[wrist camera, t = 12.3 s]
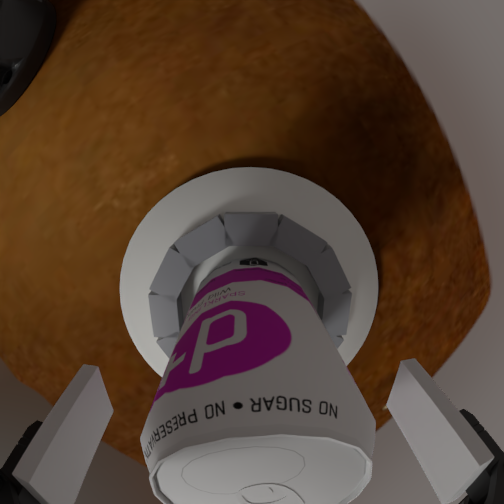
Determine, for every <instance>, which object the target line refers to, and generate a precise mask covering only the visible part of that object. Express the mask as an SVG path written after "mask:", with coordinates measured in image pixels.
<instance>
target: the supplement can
mask: <svg viewBox="0 0 504 504" xmlns="http://www.w3.org/2000/svg"><path fill="white" fill-rule="evenodd" d="M375 426H376V421H375V419H374V417H373V415H372V413H371V412H370V410H369V408H368V406H367V404H366V402H365V400H364V398H363V396H362V394H361V393H360V391H359V389H358V387H357V385H356V383H355V381H354V379H353V378H352V376H351V374H350V372H349V370H348V368H347V366H346V365H345V363H344V361H343V359H342V357H341V355H340V353H339V352H338V350H337V348H336V346H335V344H334V342H333V341H332V339H331V337H330V335H329V333H328V332H327V330H326V328H325V326H324V324H323V323H322V321H321V319H320V317H319V315H318V314H317V312H316V310H315V308H314V306H313V305H312V303H311V301H310V299H309V298H308V296H307V294H306V292H305V291H304V289H303V288H302V286H301V284H300V283H299V281H298V280H297V278H296V277H295V275H294V274H292V273H291V272H290V271H288V270H287V269H285V268H284V267H283V266H281V265H280V264H278V263H276V262H272V261H269V260H265V259H261V258H257V257H254V258H241V259H234V260H231V261H229V262H227V263H225V264H222V265H220V266H218V267H216V268H215V269H214V270H213V271H212V272H211V273H209V274H208V275H207V276H206V277H205V278H204V279H203V280H202V281H201V283H200V285H199V287H198V290H197V292H196V294H195V296H194V299H193V301H192V304H191V306H190V308H189V311H188V313H187V316H186V318H185V321H184V323H183V326H182V328H181V331H180V333H179V336H178V338H177V341H176V343H175V346H174V348H173V351H172V354H171V356H170V359H169V361H168V364H167V367H166V369H165V372H164V374H163V377H162V380H161V382H160V385H159V388H158V390H157V393H156V396H155V398H154V401H153V404H152V407H151V409H150V412H149V415H148V418H147V420H146V423H145V426H144V429H143V432H142V434H141V437H140V441H141V445H142V449H143V453H144V457H145V461H146V464H147V466H148V469H149V472H150V475H149V480H150V483H151V487H152V490H153V493H154V495H155V496H156V497H157V498H158V499H159V500H160V501H161V502H162V503H163V504H348V503H349V502H350V501H352V500H353V499H355V498H356V497H357V496H359V494H360V493H361V492H362V490H363V489H364V488H365V486H366V485H367V484H368V482H369V481H370V479H371V474H372V460H371V459H372V455H373V450H374V444H375Z"/></svg>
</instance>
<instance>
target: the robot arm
mask: <svg viewBox="0 0 504 504" xmlns="http://www.w3.org/2000/svg"><path fill="white" fill-rule="evenodd" d="M55 26H56V11H55V8H54V6H53V5H52V4H51V3H50V2H49V1H48V0H0V116H1V115H2V114H4V113H5V112H6V111H7V110H8V109H9V108H10V107H11V106H12V105H13V104H14V103H15V102H16V100H17V99H18V98H19V97H20V95H21V94H22V93H23V92H24V90H25V89H26V87H27V86H28V85H29V83H30V82H31V80H32V78H33V77H34V75H35V74H36V72H37V70H38V68H39V67H40V65H41V63H42V61H43V59H44V57H45V55H46V53H47V51H48V48H49V46H50V43H51V40H52V38H53V34H54V30H55ZM386 405H387V407H388V409H389V411H390V412H391V414H392V416H393V417H394V419H395V421H396V422H397V424H398V426H399V428H400V429H401V431H402V433H403V435H404V436H405V438H406V440H407V442H408V443H409V445H410V447H411V449H412V451H413V452H414V454H415V456H416V458H417V459H418V461H419V463H420V465H421V467H422V468H423V470H424V472H425V474H426V476H427V478H428V479H429V481H430V483H431V485H432V487H433V489H434V491H435V493H436V494H437V496H438V498H439V500H440V502H441V504H448V503H450V502H452V501H454V500H456V499H458V498H459V497H460V496H461V495H462V494H463V493H464V492H465V491H466V492H467V494H468V495H467V496H466V497H465V498H464V499H463V500H462V501H461V502H460V503H459V504H504V452H503V451H502V450H501V449H500V448H499V446H498V445H497V444H496V442H495V441H494V440H493V439H492V437H491V436H490V435H489V434H488V432H487V431H486V430H484V427H483V426H482V425H481V424H479V421H478V420H477V419H476V418H475V416H474V415H473V414H471V413H469V412H468V411H466V410H465V409H462V410H460V411H459V410H458V409H457V408H456V407H455V406H454V405H453V403H452V402H451V401H450V399H449V398H448V397H447V396H446V395H445V393H444V392H443V391H442V390H441V389H440V387H439V386H438V385H437V384H436V383H435V382H434V380H433V379H432V378H431V377H430V376H429V374H428V373H427V372H426V371H425V370H424V369H423V367H422V366H421V365H420V364H419V363H418V362H417V361H416V359H415V358H413V359H408V360H403V361H401V363H400V366H399V369H398V372H397V375H396V379H395V382H394V385H393V388H392V390H391V393H390V396H389V399H388V402H387V404H386ZM112 413H113V408H112V406H111V403H110V400H109V398H108V395H107V392H106V389H105V386H104V383H103V380H102V377H101V374H100V371H99V368H98V366H92V365H85V364H83V366H82V367H81V369H80V370H79V371H78V373H77V374H76V375H75V377H74V378H73V380H72V381H71V382H70V384H69V385H68V387H67V388H66V390H65V391H64V392H63V394H62V395H61V397H60V398H59V400H58V401H57V403H56V404H55V406H54V407H53V409H52V410H51V412H50V413H49V415H48V416H47V418H46V419H45V421H44V422H40V421H36V422H34V423H33V424H32V425H31V426H29V427H28V428H27V430H26V431H25V433H24V434H23V437H22V438H21V439H20V440H19V442H18V445H16V446H15V448H14V449H13V451H12V453H11V454H10V456H9V457H8V459H7V461H6V462H5V464H4V465H3V467H2V468H1V469H0V504H74V503H75V500H76V497H77V495H78V492H79V490H80V487H81V485H82V482H83V480H84V478H85V475H86V473H87V470H88V468H89V465H90V463H91V461H92V458H93V456H94V454H95V451H96V449H97V447H98V444H99V442H100V440H101V438H102V435H103V433H104V431H105V429H106V427H107V424H108V422H109V420H110V418H111V416H112Z"/></svg>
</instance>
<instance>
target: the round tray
mask: <svg viewBox="0 0 504 504" xmlns="http://www.w3.org/2000/svg"><path fill="white" fill-rule="evenodd" d="M254 257H257V258H261V259H265V260H269V261H272V262H276V263H278V264H280V265H281V266H283V267H284V268H285V269H287V270H288V271H290V272H291V273H292V274H294V275H295V277H296V278H297V280H298V281H299V283H300V284H301V286H302V288H303V289H304V291H305V292H306V294H307V296H308V298H309V299H310V301H311V303H312V305H313V306H314V308H315V310H316V312H317V314H318V315H319V317H320V319H321V321H322V323H323V324H324V326H325V328H326V330H327V332H328V333H329V335H330V337H331V339H332V341H333V342H334V344H335V346H336V348H337V350H338V352H339V353H340V355H341V357H342V359H343V361H344V363H345V365H346V366H347V365H348V364H349V362H350V361H351V360H352V359H353V358H354V356H355V355H356V354H357V352H358V351H359V349H360V348H361V346H362V344H363V342H364V341H365V339H366V337H367V335H368V333H369V330H370V327H371V325H372V322H373V319H374V315H375V311H376V306H377V299H378V273H377V267H376V262H375V257H374V254H373V251H372V248H371V246H370V243H369V241H368V239H367V237H366V235H365V233H364V231H363V229H362V227H361V226H360V224H359V223H358V221H357V220H356V219H355V217H354V216H353V215H352V213H351V212H350V211H349V210H348V209H347V208H346V207H345V206H344V205H343V204H342V203H341V202H340V201H339V200H338V199H337V198H336V197H334V196H333V195H332V194H330V193H329V192H328V191H326V190H325V189H324V188H322V187H320V186H318V185H316V184H315V183H313V182H311V181H309V180H307V179H305V178H302V177H299V176H297V175H294V174H291V173H288V172H284V171H279V170H275V169H270V168H257V167H243V168H230V169H225V170H221V171H216V172H211V173H209V174H206V175H203V176H200V177H198V178H195V179H193V180H191V181H189V182H187V183H185V184H183V185H181V186H180V187H178V188H176V189H175V190H173V191H172V192H171V193H169V194H168V195H167V196H165V197H164V198H163V199H161V200H160V201H159V202H158V203H157V204H156V205H155V206H154V207H153V208H152V209H151V210H150V211H149V212H148V214H147V215H146V216H145V218H144V219H143V220H142V222H141V223H140V224H139V226H138V227H137V229H136V231H135V233H134V235H133V237H132V238H131V240H130V242H129V245H128V248H127V251H126V253H125V256H124V260H123V265H122V270H121V276H120V299H121V308H122V312H123V316H124V321H125V324H126V326H127V329H128V331H129V334H130V336H131V338H132V340H133V342H134V344H135V346H136V348H137V349H138V351H139V352H140V353H141V355H142V356H143V358H144V359H145V360H146V362H147V363H148V364H149V365H150V366H151V367H152V368H153V369H154V370H155V371H156V372H157V373H158V374H159V375H160V376H161V377H163V374H164V372H165V369H166V367H167V364H168V361H169V359H170V356H171V354H172V351H173V348H174V346H175V343H176V341H177V338H178V336H179V333H180V331H181V328H182V326H183V323H184V321H185V318H186V316H187V313H188V311H189V308H190V306H191V304H192V301H193V299H194V296H195V294H196V292H197V290H198V287H199V285H200V283H201V281H202V280H203V279H204V278H205V277H206V276H207V275H208V274H209V273H211V272H212V271H213V270H214V269H215V268H216V267H218V266H220V265H222V264H225V263H227V262H229V261H231V260H234V259H241V258H254Z"/></svg>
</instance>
